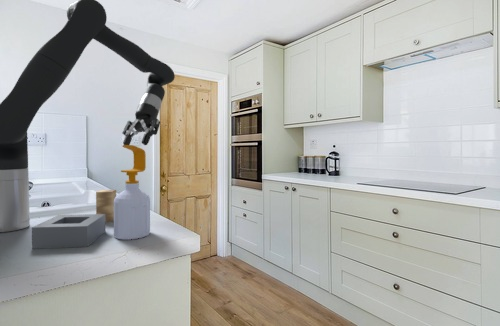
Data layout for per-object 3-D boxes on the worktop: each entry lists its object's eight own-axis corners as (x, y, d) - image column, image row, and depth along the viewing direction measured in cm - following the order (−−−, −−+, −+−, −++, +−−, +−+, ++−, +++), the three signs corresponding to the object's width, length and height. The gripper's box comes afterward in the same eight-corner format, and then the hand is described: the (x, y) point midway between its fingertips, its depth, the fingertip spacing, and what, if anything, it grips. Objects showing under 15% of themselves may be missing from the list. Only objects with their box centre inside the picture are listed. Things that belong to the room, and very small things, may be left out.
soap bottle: (106, 237, 74) (105, 144, 72) (133, 228, 82) (133, 145, 81) (131, 242, 70) (130, 145, 69) (157, 232, 78) (156, 145, 77)
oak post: (96, 222, 88) (96, 192, 88) (101, 218, 93) (101, 189, 92) (111, 221, 89) (111, 191, 88) (116, 218, 93) (116, 189, 93)
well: (32, 248, 65) (31, 227, 65) (59, 232, 77) (58, 214, 76) (87, 246, 67) (87, 226, 66) (105, 231, 79) (105, 214, 78)
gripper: (127, 104, 106) (112, 140, 99) (157, 99, 100) (143, 137, 93) (141, 116, 112) (127, 151, 105) (169, 112, 106) (157, 149, 99)
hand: (134, 144), depth 99 cm, fingers open, 8 cm apart
